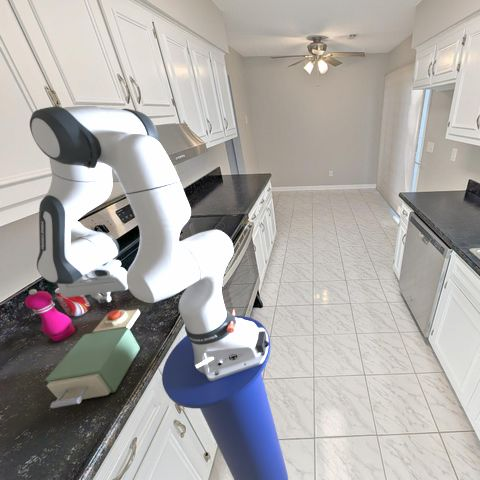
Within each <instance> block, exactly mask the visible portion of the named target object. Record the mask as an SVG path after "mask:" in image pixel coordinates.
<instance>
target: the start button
mask: <svg viewBox="0 0 480 480" xmlns="http://www.w3.org/2000/svg"><path fill="white" fill-rule="evenodd" d="M119 310H120V309H114V310H111V311H109V312H108V313H107V314H106V315H107V317H108V319H109V320H114V319H117V318H118V317H120V315H121V314H120V312H119Z"/></svg>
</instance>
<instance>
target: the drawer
mask: <svg viewBox="0 0 480 480" xmlns="http://www.w3.org/2000/svg"><path fill="white" fill-rule="evenodd" d="M46 388H47V389H48V390H49V391H50V392H51V393H52V395H54V396H55V397H56V400H54V401H53V400H52V402H51V403H50V407H49V408H50V409H57V408H63V407H68V406H74V405H79V404H80V403H82V401H83V400H87V399H92V398H93V399H94V398H99V397H104V396H108V395H110V394H111V393H110V391H111V390H110V389H109V387H108V386H107V385H106V383H105V382H104V380H103V379H102V378H101V376H100V375H99V374H98V373H95V374H90V375H84V376H78V377H72V378H66V379H61V380H56V381H50V382H49V383H48V382H47V384H46Z"/></svg>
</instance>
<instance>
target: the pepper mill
mask: <svg viewBox="0 0 480 480" xmlns="http://www.w3.org/2000/svg"><path fill="white" fill-rule="evenodd" d="M28 294H29V295H27V297H26V298H25V300H24V305H25V307H27V308H29V309H31V310H32V311H33V312H34V314H37V315H39V317H40V318H41V331H42V332H43V334H44V335H47V336H49V338H50V340H51V341H52V342H59V341H63V340H65V339H67V338H69V337H70V336H72V334H74V333H75V332H76V328H75V326H74V325H73V324H72V318H70V316H69V315H67V314H65V313H62V312H60V311H59V310H57V308H55V305H56V304H55V303H54V301H53V300H52V299H53V296H52V295H51V294H50V293H49V292H48V291H43V290H39V291H37V289H35V288H33V289H29V291H28Z"/></svg>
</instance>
